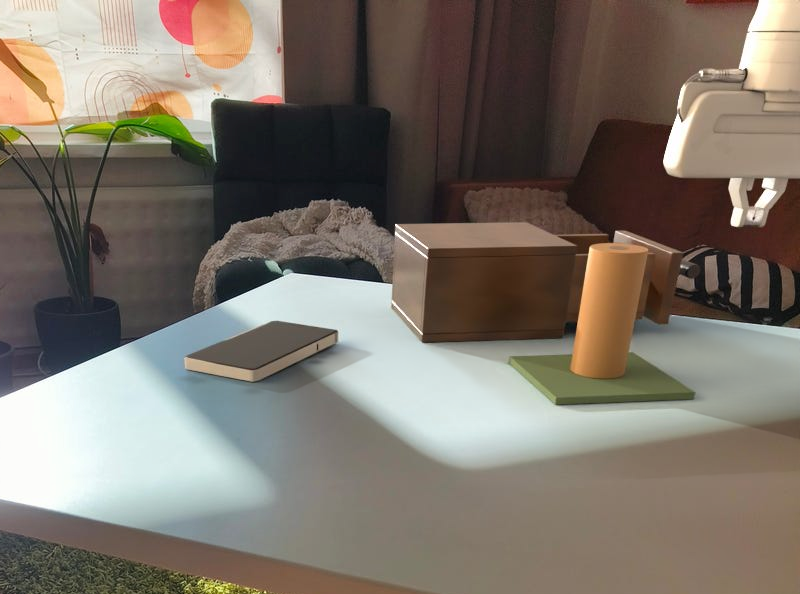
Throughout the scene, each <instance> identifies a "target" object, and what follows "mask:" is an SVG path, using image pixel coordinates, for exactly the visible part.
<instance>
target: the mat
mask: <svg viewBox="0 0 800 594" xmlns="http://www.w3.org/2000/svg"><path fill="white" fill-rule="evenodd" d="M572 355H573V353H569V354H567V353H565V354H539V355H537V354H536V355H510V356H509V357H508V364H509V365H510V366H512V368H514V369H515V370H516V371H517V372H518V373H519V374H520V375H521V376H522V377H524V379H526V380H527V381H528V382H529V383H531V384H532V386H533V387H535V388H536V389H537V390H538V391H539V392H541V394H543V396H545V397H546V398H547V399H548V400H549V401H550V402H551V403H552V404H554V405H555V406H556V405H559V406H560V405H580V404H581V405H582V404H583V405H584V404H604V403H605V404H607V403H609V404H610V403H629V402H630V403H631V402H633V403H634V402H653V401H654V402H656V401H657V402H658V401H679V400H680V401H682V400H694V399H695V397H696V391H694V390H693V389H691V388H690V387H688V386H687V385H685V384H684V383H682V382H680V381H679V380H678V379H676V378H674V377H673V376H671V375H669V374H668V373H666V372H665V371H663V370H661V369H660V368H658V367H657V366H655V365H654V364H652V363H651V362H649V361H648V360H646V359H644V358H643V357H641V356H640V355H638V354H637V353H635V352H633V351H629V353H628V358H627V363H626V368H625V373H624V375H623V376H621V377H618V378H611V379H597V378H589V377H584V376H580V375H578V374H575V373H573V372H572V371H571V369H570V367H571V361H572Z"/></svg>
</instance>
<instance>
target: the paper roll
mask: <svg viewBox="0 0 800 594" xmlns="http://www.w3.org/2000/svg"><path fill="white" fill-rule="evenodd" d="M647 255H648V249H647V248H645V247H642V246H638V245H632V244H622V243H613V242H608V243H601V244H594V245H591V246H590V249H589V255H588V261H587V268H586V274H585V280H584V286H583V293H582V299H581V305H580V311H579V317H578V322H577V325H576V329H575V335H574V336H575V337H574V342H573V343H574V344H573V349H572V354H573V355H572V361H571V367H570V369H571V371H572V372H573V373H575V374H578V375H580V376H584V377H589V378H597V379H611V378H618V377H621V376H623V375H624V373H625V368H626V363H627V358H628V353H629V352H630V347H631V342H632V337H633V331H634V326H635V321H636V320H635V317H636V312H637V306H638V301H639V296H640V291H641V286H642V281H643V276H644V270H645V265H646V260H647Z"/></svg>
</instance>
